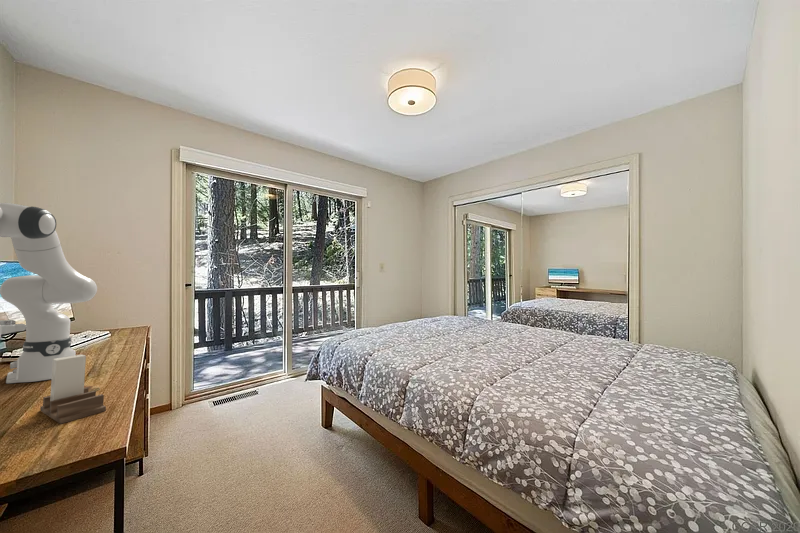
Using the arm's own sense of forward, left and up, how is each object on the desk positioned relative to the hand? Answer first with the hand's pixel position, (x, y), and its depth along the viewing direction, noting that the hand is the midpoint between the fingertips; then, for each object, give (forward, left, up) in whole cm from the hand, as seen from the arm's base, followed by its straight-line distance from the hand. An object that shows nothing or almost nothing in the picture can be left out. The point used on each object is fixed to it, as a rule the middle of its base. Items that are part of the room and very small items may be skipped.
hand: (19, 324), depth 82 cm
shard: (-7, +16, -26) cm, 31 cm away
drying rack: (+7, +9, -26) cm, 28 cm away
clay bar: (+5, +9, -24) cm, 26 cm away
